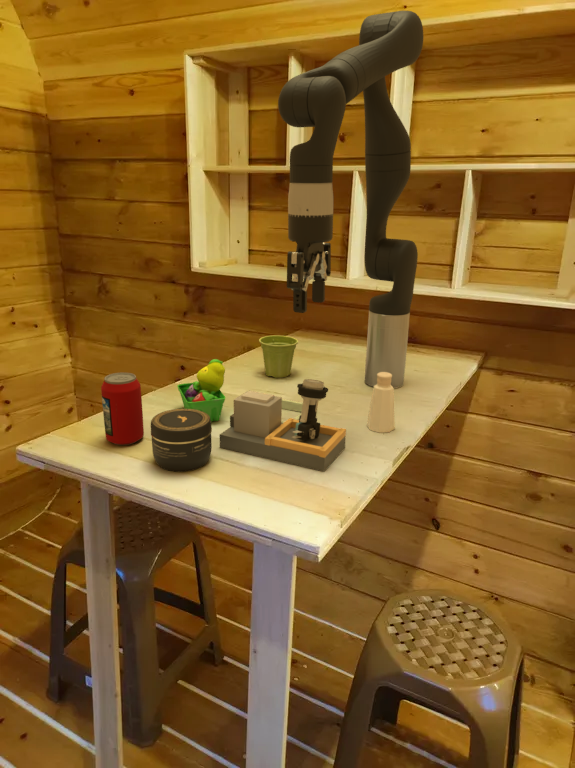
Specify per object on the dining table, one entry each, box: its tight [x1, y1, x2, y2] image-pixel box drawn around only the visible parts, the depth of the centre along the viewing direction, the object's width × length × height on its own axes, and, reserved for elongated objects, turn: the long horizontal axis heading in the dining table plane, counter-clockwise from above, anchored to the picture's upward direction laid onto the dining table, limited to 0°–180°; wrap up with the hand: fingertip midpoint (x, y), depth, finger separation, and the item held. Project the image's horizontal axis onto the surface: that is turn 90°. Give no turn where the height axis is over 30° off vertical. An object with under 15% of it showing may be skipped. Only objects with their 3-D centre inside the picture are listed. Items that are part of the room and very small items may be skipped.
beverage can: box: [100, 372, 145, 446], centre depth 105 cm, size 7×7×12 cm
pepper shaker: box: [366, 372, 396, 434], centre depth 112 cm, size 5×5×11 cm
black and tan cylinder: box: [292, 378, 329, 440], centre depth 100 cm, size 7×5×10 cm
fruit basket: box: [176, 358, 226, 423], centre depth 117 cm, size 11×9×11 cm
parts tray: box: [281, 398, 303, 423], centre depth 117 cm, size 12×12×2 cm
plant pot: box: [258, 335, 299, 379], centre depth 142 cm, size 9×9×9 cm
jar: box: [150, 408, 213, 473], centre depth 98 cm, size 10×10×8 cm
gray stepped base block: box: [219, 390, 347, 472], centre depth 103 cm, size 10×20×9 cm, turn 65°
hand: (309, 306), depth 103 cm, fingers open, 8 cm apart
